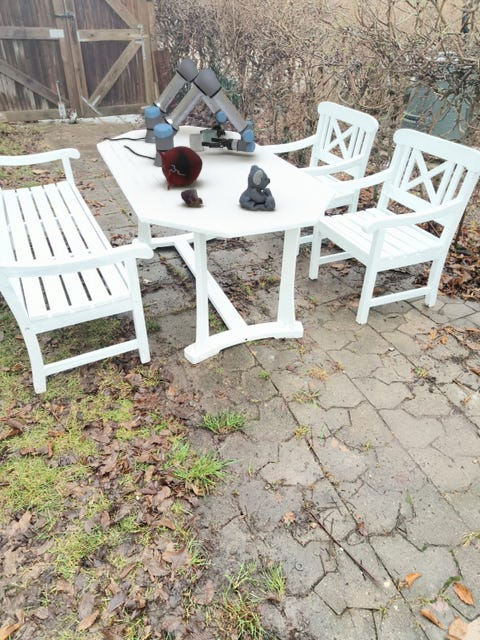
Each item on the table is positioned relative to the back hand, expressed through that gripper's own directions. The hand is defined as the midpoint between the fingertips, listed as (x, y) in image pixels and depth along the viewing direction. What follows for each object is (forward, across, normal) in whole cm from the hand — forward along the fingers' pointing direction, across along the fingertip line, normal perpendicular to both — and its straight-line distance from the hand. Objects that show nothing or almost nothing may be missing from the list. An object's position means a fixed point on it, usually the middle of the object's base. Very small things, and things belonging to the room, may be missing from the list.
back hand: (209, 135), depth 333 cm
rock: (+125, -29, -6) cm, 128 cm away
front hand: (+19, -4, 0) cm, 20 cm away
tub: (-1, 0, -6) cm, 7 cm away
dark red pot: (+92, -12, -6) cm, 93 cm away
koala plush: (+119, -62, -6) cm, 134 cm away
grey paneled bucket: (+18, +4, -6) cm, 19 cm away
